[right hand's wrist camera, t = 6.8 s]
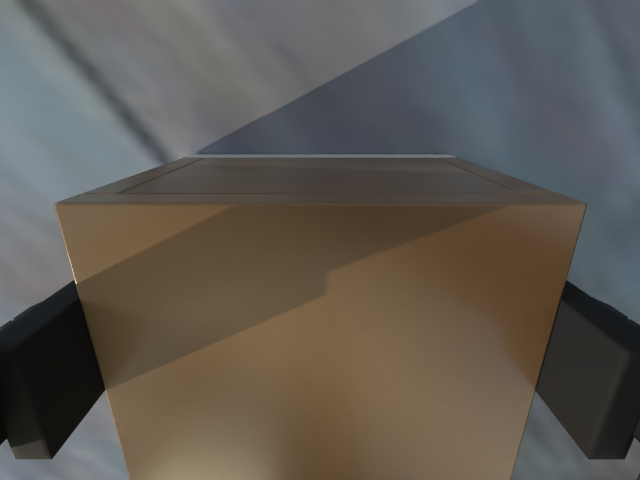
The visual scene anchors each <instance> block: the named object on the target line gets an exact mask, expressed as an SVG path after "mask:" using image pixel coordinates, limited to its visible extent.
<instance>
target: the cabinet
mask: <svg viewBox="0 0 640 480" xmlns="http://www.w3.org/2000/svg"><path fill="white" fill-rule="evenodd" d="M586 207H587V204H586V203H584V202H582V201H579V200H576V199H573V198H570V197H567V196H564V195H562V194H558V193H556V192H553V191H550V190H547V189H544V188H541V187H538V186H536V185H533V184H530V183H527V182H524V181H521V180H518V179H516V178H513V177H510V176H507V175H504V174H501V173H498V172H496V171H493V170H490V169H487V168H484V167H481V166H478V165H476V164H473V163H470V162H467V161H464V160H461V159H458V157H455V156H452V155H450V154H191V155H188V156H185V157H183V158H182V159H179V160H176V161H174V162H171V163H168V164H165V165H162V166H159V167H156V168H154V169H151V170H148V171H145V172H142V173H139V174H137V175H134V176H131V177H128V178H125V179H122V180H119V181H117V182H114V183H111V184H108V185H105V186H102V187H99V188H97V189H94V190H91V191H88V192H85V193H83V194H79V195H76V196H73V197H70V198H68V199H65V200H62V201H59V202H56V203H55V204H54V208H55V212H56V216H57V219H58V223H59V226H60V230H61V234H62V237H63V241H64V244H65V248H66V252H67V255H68V259H69V262H70V266H71V269H72V273H73V277H74V280H75V284H76V287H77V291H78V295H79V298H80V302H81V305H82V309H83V313H84V316H85V320H86V323H87V327H88V331H89V334H90V338H91V341H92V345H93V349H94V352H95V356H96V359H97V363H98V366H99V370H100V374H101V377H102V381H103V384H104V388H105V392H106V395H107V399H108V402H109V406H110V410H111V413H112V417H113V420H114V424H115V428H116V431H117V435H118V438H119V442H120V446H121V449H122V453H123V456H124V460H125V463H126V467H127V471H128V474H129V478H130V480H511V476H512V473H513V469H514V466H515V462H516V458H517V455H518V451H519V448H520V444H521V440H522V437H523V433H524V430H525V426H526V422H527V419H528V415H529V412H530V408H531V404H532V401H533V397H534V394H535V390H536V387H537V383H538V379H539V376H540V372H541V369H542V365H543V361H544V358H545V354H546V351H547V347H548V343H549V340H550V336H551V333H552V329H553V326H554V322H555V318H556V315H557V311H558V308H559V304H560V300H561V297H562V293H563V290H564V286H565V282H566V279H567V275H568V272H569V268H570V264H571V261H572V257H573V254H574V250H575V247H576V243H577V239H578V236H579V232H580V229H581V225H582V221H583V218H584V214H585V211H586Z"/></svg>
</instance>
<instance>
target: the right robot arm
mask: <svg viewBox="0 0 640 480" xmlns="http://www.w3.org/2000/svg"><path fill="white" fill-rule="evenodd" d="M13 319H14V320H13V321H9V322H7V323H6V324H5V325H3V326H2V327H0V445H1V444H2V443H3V442H4V441H5V440H6V439H7V440H8V442H9V444H10V447H11V449H12V451H13V454H14V456H15V458H16V459H52V458H53V457H54V456H55V454H56V453H57V452H58V451H59V449H60V448H61V447H62V445H63V444H64V443H65V441H66V440H67V439H68V438H69V436H70V435H71V434H72V432H73V431H74V430H75V428H76V427H77V426H78V425H79V423H80V422H81V421H82V419H83V418H84V417H85V415H86V414H87V413H88V412H89V410H90V409H91V408H92V406H93V405H94V404H95V402H96V401H97V400H98V399H99V397H100V396H101V395H102V393H103V392H104V391H105V388H104V384H103V381H102V377H101V374H100V370H99V366H98V363H97V359H96V356H95V352H94V349H93V345H92V341H91V338H90V334H89V331H88V327H87V323H86V320H85V316H84V313H83V309H82V305H81V302H80V298H79V295H78V291H77V287H76V284H75V280H73V281H72V282H71V283H69V284H68V285H66V286H65V287H63V288H62V289H60V290H59V291H57V292H56V293H55V294H53V295H52V296H50V297H49V298H47V299H46V300H44V301H43V302H40V303H38V304H36V305H34V306H31V307H30V308H28V309H27V310H25V311H24V312H22V313H21V314H19V315H18V316H16V317H15V318H13ZM536 392H537V393H538V394H539V395H540V397H541V398H542V399H543V401H544V402H545V403H546V405H547V406H548V407H549V408H550V410H551V411H552V412H553V414H554V415H555V416H556V418H557V419H558V420H559V421H560V423H561V424H562V425H563V427H564V428H565V429H566V431H567V432H568V433H569V434H570V436H571V437H572V438H573V440H574V441H575V442H576V444H577V445H578V446H579V447H580V449H581V450H582V451H583V453H584V454H585V455H586V457H587V458H588V459H625V457H626V455H627V453H628V450H629V448H630V446H631V443H632V441H633V439H634V437H635V438H636V439H637V440H638V441H639V442H640V325H639V324H637V323H636V322H634V321H633V320H631V319H628V317H627V316H625V315H624V314H622V313H621V312H619V311H618V310H616V309H615V308H613V307H612V306H610V305H608V304H606V303H603V302H601V301H599V300H597V299H594V298H592V297H590V296H589V295H587V294H586V293H584V292H583V291H582V290H580V289H579V288H577V287H576V286H574V285H573V284H571V283H570V282H568V281H567V280H566V282H565V286H564V290H563V293H562V297H561V300H560V304H559V308H558V311H557V315H556V318H555V322H554V326H553V329H552V333H551V336H550V340H549V343H548V347H547V351H546V354H545V358H544V361H543V365H542V369H541V372H540V376H539V379H538V383H537V387H536ZM637 480H640V473H639V476H638V478H637Z"/></svg>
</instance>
